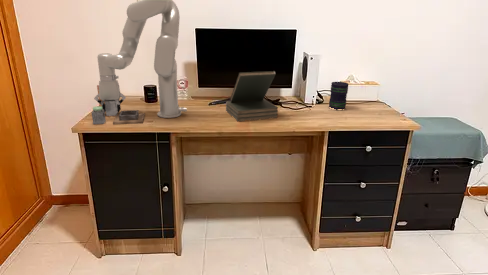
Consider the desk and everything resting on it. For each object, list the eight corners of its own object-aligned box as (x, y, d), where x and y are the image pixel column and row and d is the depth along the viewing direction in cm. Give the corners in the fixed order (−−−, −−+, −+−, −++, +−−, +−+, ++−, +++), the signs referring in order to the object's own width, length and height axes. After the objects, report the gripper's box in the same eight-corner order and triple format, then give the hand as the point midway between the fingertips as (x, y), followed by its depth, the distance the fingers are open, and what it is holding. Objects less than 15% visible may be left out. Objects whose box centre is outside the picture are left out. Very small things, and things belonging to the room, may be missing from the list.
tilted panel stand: (263, 108, 202) (265, 65, 193) (277, 118, 185) (280, 72, 176) (225, 111, 195) (226, 67, 186) (237, 122, 177) (238, 73, 168)
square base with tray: (144, 115, 184) (144, 108, 183) (142, 123, 172) (142, 116, 170) (117, 115, 182) (116, 109, 180) (113, 124, 169) (112, 117, 168)
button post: (105, 120, 174) (104, 109, 172) (103, 123, 169) (102, 112, 167) (95, 121, 173) (93, 109, 171) (93, 124, 169) (91, 112, 166)
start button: (104, 119, 173) (103, 106, 171) (103, 122, 169) (101, 108, 167) (95, 119, 173) (93, 106, 170) (93, 122, 169) (91, 108, 166)
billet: (117, 113, 187) (116, 98, 184) (116, 115, 182) (114, 101, 179) (108, 113, 186) (106, 98, 183) (106, 116, 181) (104, 101, 178)
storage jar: (347, 110, 201) (350, 85, 196) (330, 110, 201) (333, 85, 196) (343, 106, 211) (346, 81, 205) (327, 105, 211) (329, 81, 205)
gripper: (126, 76, 182) (129, 109, 188) (91, 77, 179) (96, 110, 185) (124, 79, 175) (127, 113, 182) (88, 79, 172) (93, 114, 178)
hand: (111, 111), depth 183 cm, fingers open, 6 cm apart
